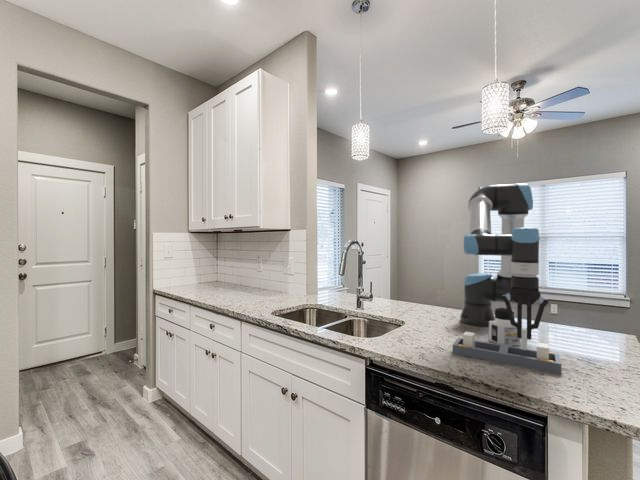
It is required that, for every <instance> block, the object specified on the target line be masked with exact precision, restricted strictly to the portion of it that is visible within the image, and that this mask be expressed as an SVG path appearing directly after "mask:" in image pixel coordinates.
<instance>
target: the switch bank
mask: <svg viewBox="0 0 640 480" xmlns="http://www.w3.org/2000/svg"><path fill="white" fill-rule="evenodd" d="M452 354H453V355H457V356H458V355H459V356H463V357H469V358H474V359H480V360H485V361H490V362H494V363H500V364H506V365H510V366H516V367H521V368H522V367H523V368H527V369H532V370H538V371H541V372H548V373H551V374H552V373H553V374H558V375H562V361H561V356H560V354H559V353H554V352H551V351H549V360H546V359H541V358H540V359H537V349H530V348H527V350H521V347H519V346H507V345H501V344H497V343H494V342H487V341H482V340H476V339H475V347H469V346H466V345H463V337H457V338H456V340H455V341H454V342H453V343H452Z"/></svg>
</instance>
